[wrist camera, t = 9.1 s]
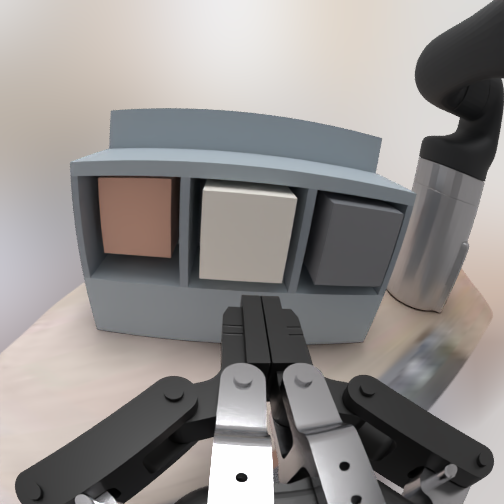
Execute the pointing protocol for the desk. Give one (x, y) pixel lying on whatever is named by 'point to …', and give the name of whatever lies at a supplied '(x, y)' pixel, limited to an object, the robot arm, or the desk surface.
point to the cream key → (245, 230)
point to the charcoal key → (350, 239)
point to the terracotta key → (140, 214)
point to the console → (191, 192)
